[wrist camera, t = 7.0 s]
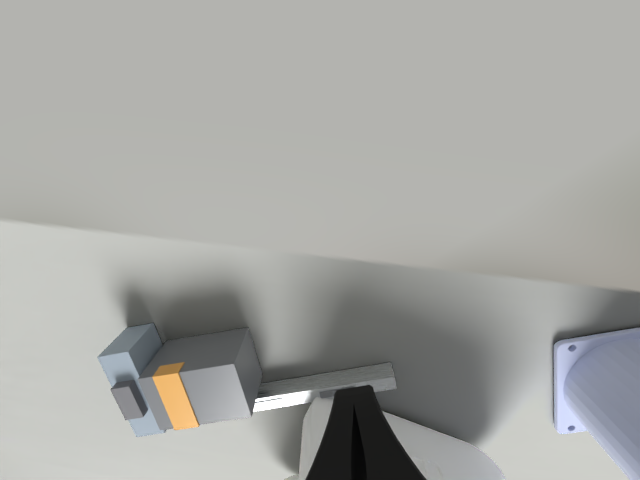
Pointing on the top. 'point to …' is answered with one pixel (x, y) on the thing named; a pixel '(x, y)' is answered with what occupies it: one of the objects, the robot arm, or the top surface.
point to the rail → (323, 386)
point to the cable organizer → (406, 448)
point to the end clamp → (132, 374)
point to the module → (203, 380)
